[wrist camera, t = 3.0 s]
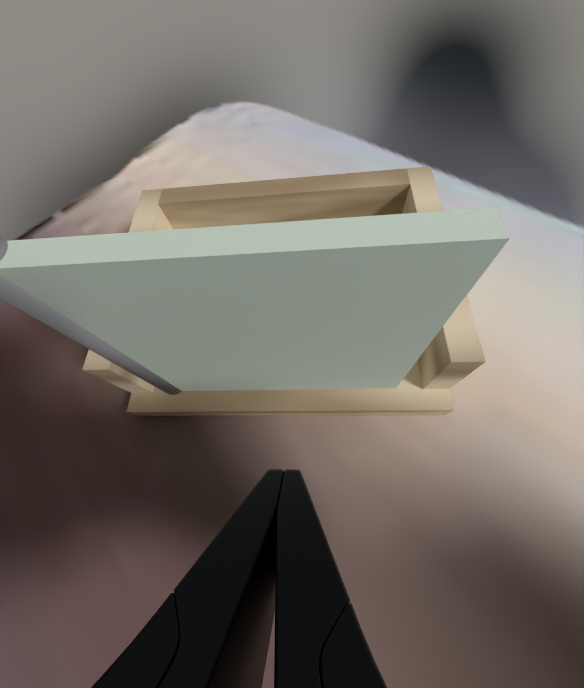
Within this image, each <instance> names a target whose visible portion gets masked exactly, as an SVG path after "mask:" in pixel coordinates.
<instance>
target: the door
mask: <svg viewBox="0 0 584 688" xmlns="http://www.w3.org/2000/svg"><path fill="white" fill-rule="evenodd" d="M508 240H509V236H508V233H507V231H506V228H505V226H504V223H503V220H502V218H501V215H500V213H499V210H498V208H497V207H493V208H478V209H464V210H449V211H435V212H420V213H406V214H391V215H377V216H362V217H348V218H333V219H319V220H304V221H290V222H275V223H261V224H246V225H232V226H217V227H203V228H188V229H174V230H159V231H145V232H130V233H116V234H101V235H87V236H72V237H58V238H43V239H29V240H14V241H7V240H6V239H5V238H3V237H1V236H0V299H1V300H3V301H5V302H6V303H8V304H10V305H12V306H14V307H15V308H17V309H19V310H21V311H22V312H24V313H26V314H28V315H29V316H31V317H33V318H35V319H36V320H38V321H40V322H42V323H44V324H45V325H47V326H49V327H51V328H52V329H54V330H56V331H58V332H59V333H61V334H63V335H65V336H67V337H68V338H70V339H72V340H74V341H75V342H77V343H79V344H81V345H82V346H84V347H86V348H88V349H90V350H91V351H93V352H95V353H97V354H98V355H100V356H102V357H104V358H105V359H107V360H109V361H111V362H113V363H114V364H116V365H118V366H120V367H121V368H123V369H125V370H127V371H128V372H130V373H132V374H134V375H136V376H137V377H139V378H141V379H143V380H144V381H146V382H148V383H150V384H151V385H153V386H155V387H157V388H159V389H160V390H162V391H164V392H166V393H167V394H169V395H176V394H179V393H180V392H182V391H230V390H308V389H386V388H397V386H398V385H399V384H400V382H401V381H402V380H403V379H404V377H405V376H406V375H407V373H408V372H409V371H410V369H411V368H412V367H413V365H414V364H415V363H416V361H417V360H418V359H419V357H420V356H421V355H422V353H423V352H424V351H425V349H426V348H427V347H428V345H429V344H430V343H431V341H432V340H433V339H434V338H435V336H436V335H437V334H438V332H439V331H440V330H441V328H442V327H443V326H444V324H445V323H446V322H447V320H448V319H449V318H450V316H451V315H452V314H453V312H454V311H455V310H456V308H457V307H458V306H459V304H460V303H461V302H462V300H463V299H464V298H465V297H466V295H467V294H468V293H469V291H470V290H471V289H472V287H473V286H474V285H475V283H476V282H477V281H478V279H479V278H480V277H481V275H482V274H483V273H484V271H485V270H486V269H487V267H488V266H489V265H490V263H491V262H492V261H493V260H494V258H495V257H496V256H497V254H498V253H499V252H500V250H501V249H502V248H503V246H504V245H505V244H506V242H507V241H508Z"/></svg>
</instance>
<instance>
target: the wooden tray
mask: <svg viewBox="0 0 584 688" xmlns="http://www.w3.org/2000/svg"><path fill="white" fill-rule="evenodd" d="M435 211H443V209H442V205H441V202H440V198H439V195H438V191H437V188H436V184H435V181H434V177H433V173H432V170H431V167H420V168H408V169H396V170H384V171H372V172H360V173H348V174H336V175H324V176H312V177H300V178H288V179H276V180H264V181H252V182H240V183H228V184H216V185H204V186H192V187H180V188H168V189H156V190H144V191H142V194H141V197H140V200H139V203H138V206H137V209H136V212H135V214H134V217H133V220H132V223H131V226H130V229H129V232H128V233H130V232H145V231H159V230H174V229H188V228H203V227H217V226H232V225H246V224H261V223H275V222H290V221H304V220H319V219H333V218H348V217H362V216H377V215H391V214H406V213H420V212H435ZM484 362H485V358H484V354H483V351H482V347H481V344H480V340H479V337H478V333H477V330H476V326H475V322H474V319H473V315H472V312H471V308H470V305H469V301H468V298H467V295H466V297H465V298H464V299H463V300H462V302H461V303H460V304H459V306H458V307H457V308H456V310H455V311H454V312H453V314H452V315H451V316H450V318H449V319H448V320H447V322H446V323H445V324H444V326H443V327H442V328H441V330H440V331H439V332H438V334H437V335H436V336H435V338H434V339H433V340H432V341H431V343H430V344H429V345H428V347H427V348H426V349H425V351H424V352H423V353H422V355H421V356H420V357H419V359H418V360H417V361H416V363H415V364H414V365H413V367H412V368H411V369H410V371H409V372H408V373H407V375H406V376H405V377H404V379H403V380H402V381H401V382H400V384H399V385H398V386H397V388H386V389H308V390H230V391H182V392H180V393H179V394H176V395H169V394H167V393H166V392H164V391H162V390H160V389H159V388H157V387H155V386H153V385H151V384H150V383H148V382H146V381H144V380H143V379H141V378H139V377H137V376H136V375H134V374H132V373H130V372H128V371H127V370H125V369H123V368H121V367H120V366H118V365H116V364H114V363H113V362H111V361H109V360H107V359H105V358H104V357H102V356H100V355H98V354H97V353H95V352H93V351H91V350H90V349H89V351H88V354H87V357H86V360H85V362H84V365H83V368H82V370H83V371H85V372H87V373H89V374H92V375H94V376H96V377H98V378H100V379H102V380H105V381H107V382H109V383H111V384H113V385H115V386H118V387H120V388H122V389H124V390H126V391H128V392H130V393H131V396H130V400H129V404H128V408H127V412H128V413H131V414H134V415H137V416H229V415H446V414H448V413H449V412H451V411H453V410H454V409H453V404H452V399H451V395H450V390H449V389H450V388H451V387H452V386H454V385H455V384H456V383H458V382H459V381H460V380H462V379H463V378H464V377H466V376H467V375H468V374H470V373H471V372H472V371H474V370H475V369H476V368H478V367H479V366H480V365H482V364H483V363H484Z"/></svg>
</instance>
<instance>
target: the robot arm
mask: <svg viewBox="0 0 584 688" xmlns="http://www.w3.org/2000/svg"><path fill="white" fill-rule="evenodd" d="M274 612H275V667H274V688H387V686H386V684H385V682H384V680H383V678H382V676H381V674H380V671H379V669H378V667H377V665H376V663H375V661H374V658H373V656H372V653H371V651H370V649H369V646H368V644H367V641H366V639H365V637H364V634H363V632H362V629H361V627H360V624H359V622H358V619H357V617H356V614H355V611H354V609H353V606H352V604H351V603H350V599H349V596H348V594H347V591H346V588H345V586H344V583H343V581H342V578H341V575H340V573H339V570H338V568H337V565H336V562H335V560H334V557H333V554H332V552H331V549H330V547H329V544H328V541H327V539H326V536H325V534H324V531H323V528H322V526H321V523H320V520H319V518H318V515H317V513H316V510H315V507H314V505H313V502H312V500H311V497H310V494H309V492H308V489H307V487H306V484H305V481H304V479H303V476H302V473H301V471H300V470H285V472H284V471H283V470H281V469H270V470H268V471H267V472H266V474H265V475H264V476H263V477H262V479H261V480H260V481H259V482H258V484H257V485H256V486H255V488H254V489H253V490H252V491H251V493H250V494H249V495H248V496H247V498H246V499H245V500H244V501H243V503H242V504H241V505H240V507H239V508H238V509H237V510H236V512H235V513H234V514H233V515H232V517H231V518H230V519H229V521H228V522H227V523H226V524H225V526H224V527H223V528H222V529H221V531H220V532H219V533H218V535H217V536H216V537H215V538H214V540H213V541H212V542H211V543H210V545H209V546H208V547H207V549H206V550H205V551H204V552H203V554H202V555H201V556H200V557H199V559H198V560H197V561H196V563H195V564H194V565H193V566H192V568H191V569H190V570H189V571H188V573H187V574H186V575H185V577H184V578H183V579H182V580H181V582H180V583H179V584H178V585H177V587H176V588H175V590H174V593H171V594H170V595H169V597H168V598H167V599H166V600H165V602H164V603H163V604H162V606H161V607H160V608H159V609H158V611H157V612H156V613H155V614H154V616H153V617H152V618H151V619H150V620H149V622H148V623H147V624H146V625H145V627H144V628H143V629H142V630H141V631H140V633H139V634H138V635H137V636H136V638H135V639H134V640H133V641H132V642H131V644H130V645H129V646H128V647H127V648H126V649H125V650H124V651H123V653H122V654H121V655H120V656H119V657H118V658H117V659H116V660H115V662H114V663H113V664H112V665H111V666H110V667H109V668H108V669H107V671H106V672H105V673H104V674H103V675H102V676H101V677H100V678H99V680H98V681H97V682H96V683H95V684H94V685H93V686H92V687H91V688H261V687H262V682H263V676H264V670H265V664H266V658H267V653H268V647H269V641H270V635H271V629H272V623H273V618H274Z"/></svg>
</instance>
